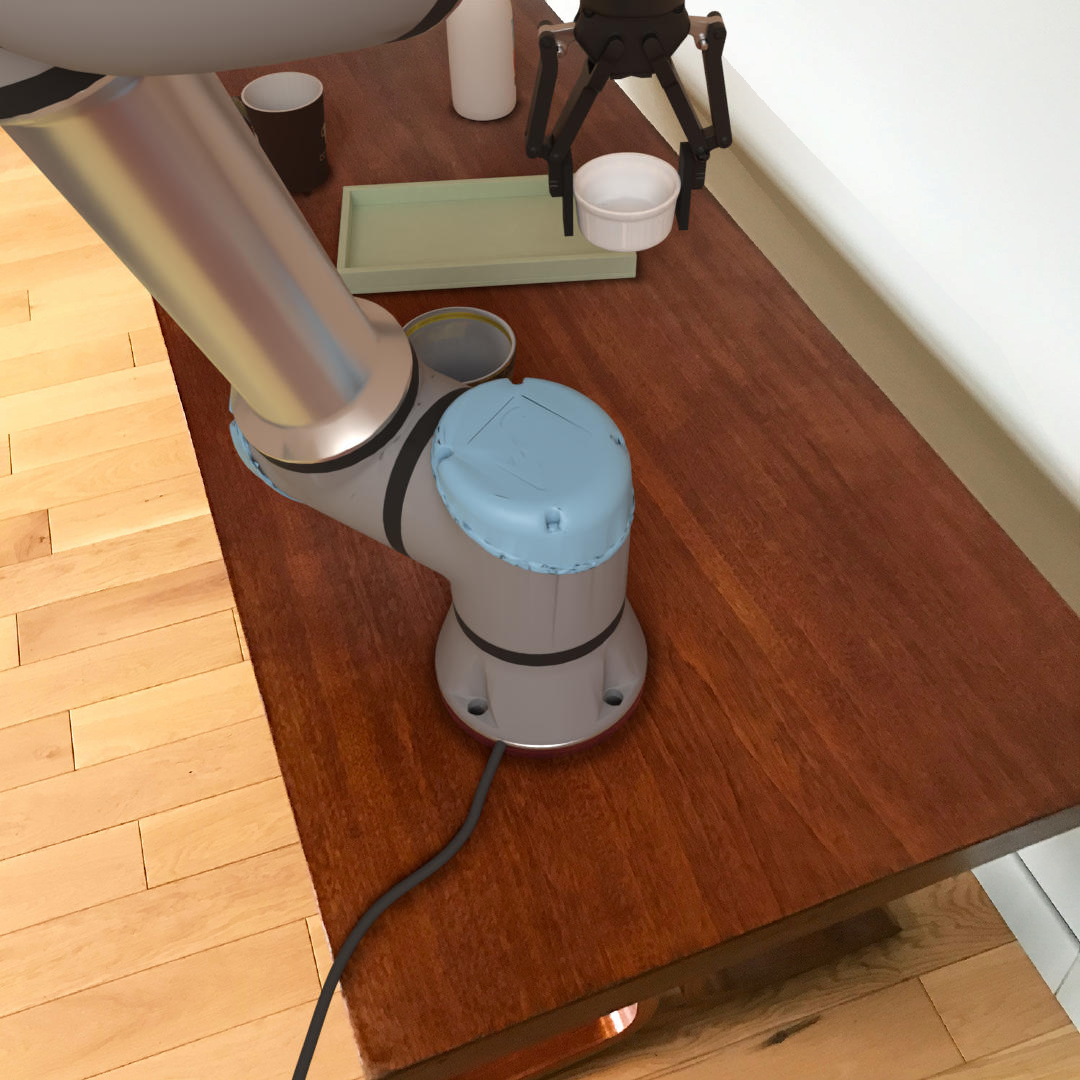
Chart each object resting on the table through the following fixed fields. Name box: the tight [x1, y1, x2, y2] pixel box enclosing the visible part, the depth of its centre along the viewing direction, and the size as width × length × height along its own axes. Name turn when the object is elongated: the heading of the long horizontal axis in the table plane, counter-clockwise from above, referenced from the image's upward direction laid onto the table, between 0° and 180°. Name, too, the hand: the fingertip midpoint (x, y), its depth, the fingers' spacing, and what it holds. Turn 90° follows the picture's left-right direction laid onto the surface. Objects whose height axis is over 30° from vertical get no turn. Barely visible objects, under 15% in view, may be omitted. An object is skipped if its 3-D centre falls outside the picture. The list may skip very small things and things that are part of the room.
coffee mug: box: [240, 71, 329, 193], centre depth 123 cm, size 12×9×10 cm
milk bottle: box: [445, 0, 517, 122], centre depth 127 cm, size 8×8×20 cm
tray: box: [336, 172, 638, 295], centre depth 116 cm, size 16×30×3 cm, turn 94°
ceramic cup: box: [402, 306, 517, 387], centre depth 93 cm, size 13×10×10 cm
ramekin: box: [573, 151, 681, 253], centre depth 92 cm, size 9×9×4 cm
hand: (624, 223), depth 94 cm, fingers closed on ramekin, 9 cm apart
